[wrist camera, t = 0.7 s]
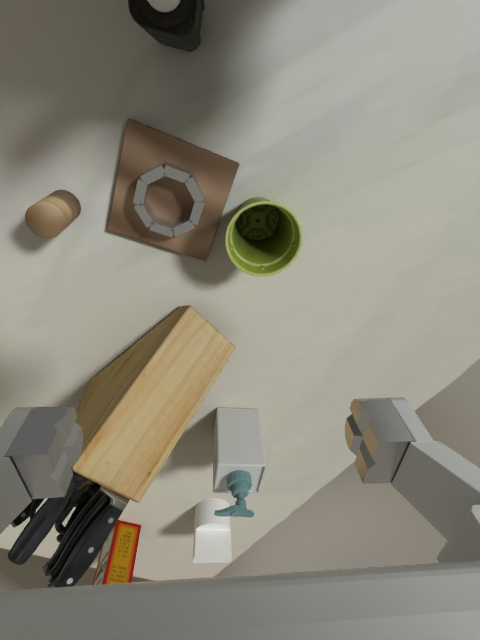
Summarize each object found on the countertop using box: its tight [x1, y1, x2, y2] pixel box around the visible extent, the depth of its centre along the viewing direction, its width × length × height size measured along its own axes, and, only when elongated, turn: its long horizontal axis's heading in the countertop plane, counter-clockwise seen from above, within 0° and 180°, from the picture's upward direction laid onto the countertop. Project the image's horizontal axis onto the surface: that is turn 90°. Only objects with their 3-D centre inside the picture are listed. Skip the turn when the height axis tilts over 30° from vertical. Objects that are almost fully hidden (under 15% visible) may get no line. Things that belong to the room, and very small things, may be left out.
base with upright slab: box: [193, 499, 232, 563], centre depth 85 cm, size 9×9×12 cm
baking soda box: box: [93, 520, 141, 585], centre depth 87 cm, size 10×6×16 cm
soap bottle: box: [213, 408, 267, 517], centre depth 64 cm, size 9×9×19 cm
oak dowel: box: [25, 190, 81, 238], centre depth 43 cm, size 4×4×7 cm
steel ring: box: [133, 162, 205, 237], centre depth 45 cm, size 8×8×2 cm
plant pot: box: [225, 198, 302, 276], centre depth 45 cm, size 9×9×9 cm
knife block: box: [8, 306, 235, 588], centre depth 50 cm, size 11×35×31 cm, turn 130°
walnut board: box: [108, 119, 239, 261], centre depth 46 cm, size 14×14×1 cm
